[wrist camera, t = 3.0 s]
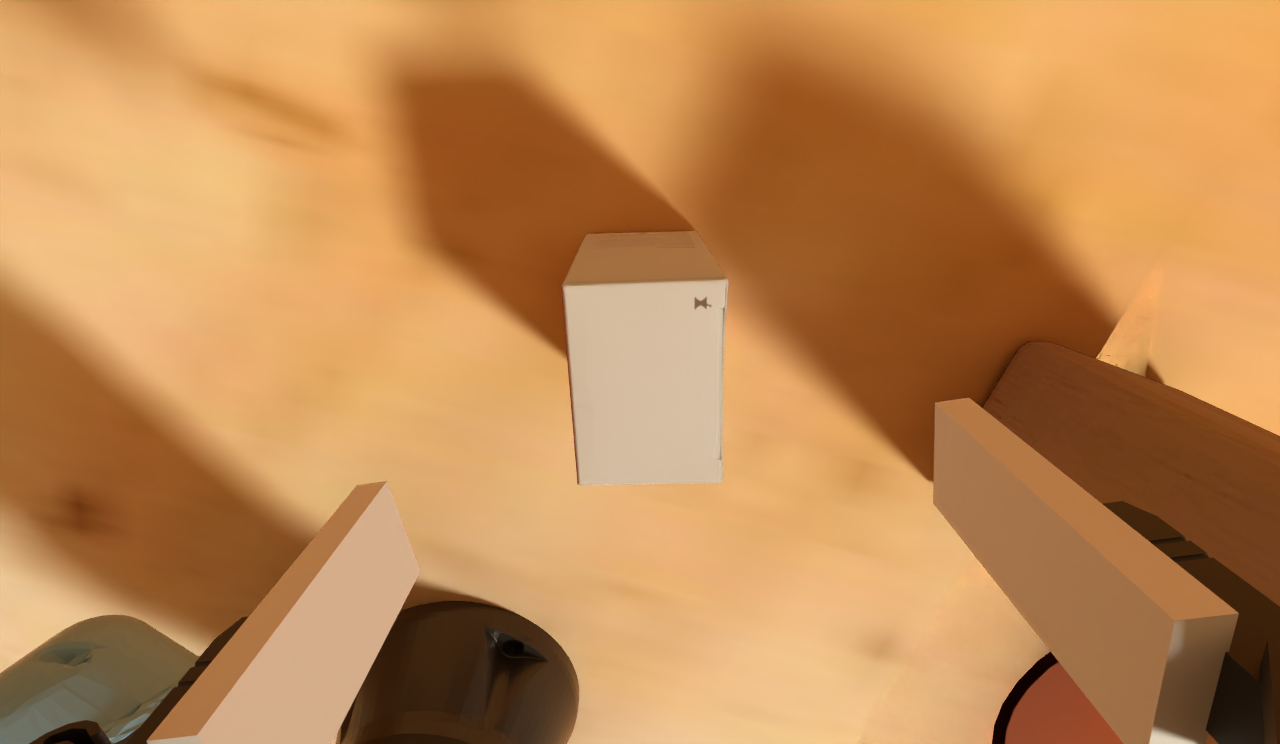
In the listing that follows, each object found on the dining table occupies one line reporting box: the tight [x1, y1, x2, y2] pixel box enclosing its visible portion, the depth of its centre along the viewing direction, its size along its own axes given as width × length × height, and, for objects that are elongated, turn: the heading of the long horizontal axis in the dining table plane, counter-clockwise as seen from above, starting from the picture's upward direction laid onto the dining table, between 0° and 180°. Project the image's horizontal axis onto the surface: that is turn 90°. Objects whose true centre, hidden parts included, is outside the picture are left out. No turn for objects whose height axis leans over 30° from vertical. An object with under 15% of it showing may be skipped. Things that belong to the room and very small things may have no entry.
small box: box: [561, 231, 729, 485], centre depth 26 cm, size 8×6×10 cm
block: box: [982, 342, 1280, 744], centre depth 24 cm, size 10×10×20 cm
